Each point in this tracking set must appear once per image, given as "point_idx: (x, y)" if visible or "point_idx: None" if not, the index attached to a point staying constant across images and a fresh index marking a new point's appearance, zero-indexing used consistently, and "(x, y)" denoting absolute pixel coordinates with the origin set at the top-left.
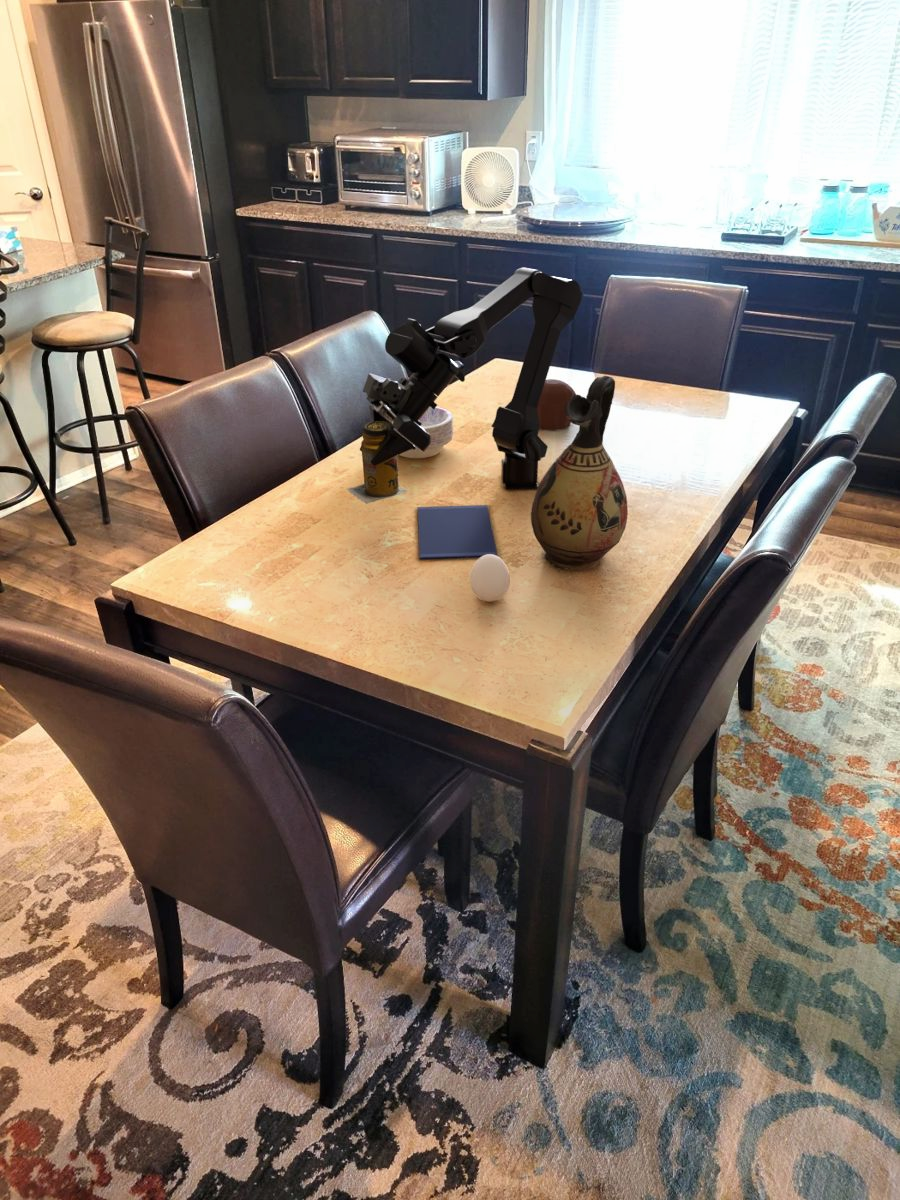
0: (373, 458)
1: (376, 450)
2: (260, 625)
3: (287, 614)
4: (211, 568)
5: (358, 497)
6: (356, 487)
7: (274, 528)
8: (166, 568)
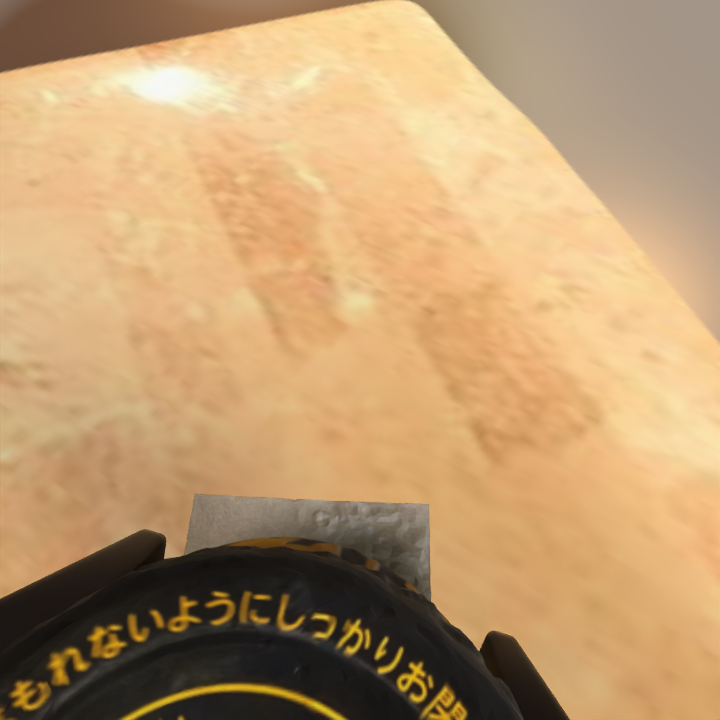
0: (102, 550)
1: (69, 606)
2: (47, 73)
3: (33, 125)
4: (374, 108)
5: (295, 505)
6: (414, 565)
7: (510, 309)
8: (436, 55)
